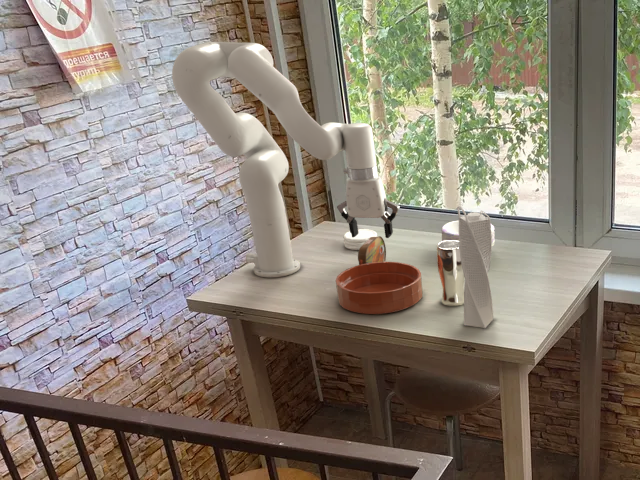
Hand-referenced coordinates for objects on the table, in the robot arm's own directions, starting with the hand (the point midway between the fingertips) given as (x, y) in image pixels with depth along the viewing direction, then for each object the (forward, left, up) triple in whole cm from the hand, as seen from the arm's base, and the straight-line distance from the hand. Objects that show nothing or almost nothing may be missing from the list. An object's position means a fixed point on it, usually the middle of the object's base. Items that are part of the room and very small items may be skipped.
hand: (372, 236), depth 215 cm
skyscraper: (+36, -29, -10) cm, 48 cm away
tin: (-1, 0, -10) cm, 10 cm away
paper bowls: (+22, +17, -10) cm, 30 cm away
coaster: (-12, +19, -10) cm, 24 cm away
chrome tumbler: (+27, -18, -10) cm, 34 cm away
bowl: (+8, -19, -10) cm, 23 cm away
